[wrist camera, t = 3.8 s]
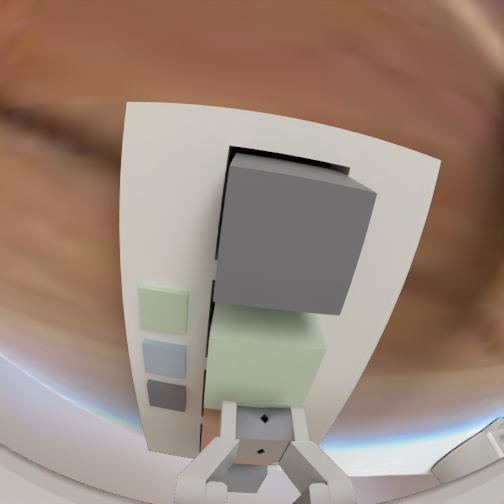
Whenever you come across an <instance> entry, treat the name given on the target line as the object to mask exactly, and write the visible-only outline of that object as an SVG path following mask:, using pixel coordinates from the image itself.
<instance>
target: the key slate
mask: <svg viewBox="0 0 504 504" xmlns="http://www.w3.org/2000/svg"><path fill="white" fill-rule="evenodd" d="M266 475H267V465H252V464H236V463H233V464H232V465H231V466H230V468H229V469H228V470H227V471H226V473H225V474H224V475H223V476H222V478H221V479H220V480H219V481H218V482H223V483H224V484H225V485H227V492H243V493H257V491H258V489H259V487H260V486H261V484H262V482H263V481H264V479H265V477H266Z"/></svg>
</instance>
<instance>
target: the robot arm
mask: <svg viewBox="0 0 504 504" xmlns="http://www.w3.org/2000/svg"><path fill="white" fill-rule="evenodd" d="M234 461H258V462H279V465H280V466H281V468H282V469H283V470H284V472H285V473H286V474H287V476H288V477H289V479H290V480H291V481H292V483H293V484H294V485H295V486H296V488H297V489H298V490H299V492H300V493H301V494H302V495H301V496H300V497H299V498H298V499H297V500H296V501H295V502H294V503H293V504H356V499H355V494H354V490H353V485H352V480H351V478H350V477H349V476H348V475H346V474H345V473H344V472H343V471H342V470H341V469H340V468H339V467H338V466H337V465H336V464H335V463H334V462H333V461H332V460H331V459H330V458H329V457H328V456H327V455H326V454H325V453H324V452H323V451H322V450H321V449H320V448H319V447H318V446H317V444H316V443H315V442H314V441H309V435H308V429H307V423H306V417H305V411H304V408H303V406H289V405H267V404H263V405H260V404H250V403H240V402H232V401H222V407H221V413H220V420H219V429H218V437H215V438H214V439H213V440H212V441H211V442H210V443H209V444H208V445H207V446H206V448H205V449H204V450H203V451H202V452H201V453H200V454H199V455H198V456H197V457H196V458H195V459H194V460H193V461H192V462H191V463H190V464H189V465H188V466H187V467H186V468H185V469H184V470H183V471H182V472H181V473H180V474H179V475H178V477H177V484H176V490H175V497H174V504H227V485H225V484H224V483H223V482H218V481H219V480H220V479H221V478H222V476H223V475H224V474H225V473H226V471H227V470H228V469H229V468H230V466H231V465H232V464H233V463H234ZM432 473H433V474H434V475H435V476H436V478H437V479H438V480H439V482H440V483H441V485H439V486H436V487H434V488H431V489H428V490H425V491H422V492H419V493H415V494H412V495H408V496H405V497H401V498H398V499H394V500H390V501H386V502H382V503H377V504H504V417H503V418H499V419H497V420H496V421H494V422H493V423H492V424H490V425H489V426H488V427H487V428H486V429H484V430H483V431H482V432H480V433H479V434H477V435H476V436H474V437H472V438H471V439H469V440H468V441H466V442H465V443H463V444H462V445H460V446H459V447H458V448H456V449H455V450H453V451H452V452H451V453H449V454H448V455H447V456H446V457H444V458H443V459H442V460H441V461H440V462H438V463H437V464H436V465H435V467H434V468H433V469H432ZM0 504H152V503H147V502H143V501H139V500H135V499H131V498H127V497H124V496H120V495H116V494H113V493H110V492H107V491H104V490H101V489H97V488H95V487H92V486H89V485H86V484H84V483H81V482H78V481H76V480H73V479H71V478H68V477H66V476H64V475H61V474H59V473H57V472H54V471H52V470H50V469H48V468H46V467H43V466H41V465H39V464H37V463H35V462H33V461H31V460H29V459H27V458H26V457H24V456H22V455H20V454H18V453H16V452H15V451H12V450H11V449H9V448H8V447H6V446H4V445H3V444H1V443H0Z"/></svg>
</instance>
